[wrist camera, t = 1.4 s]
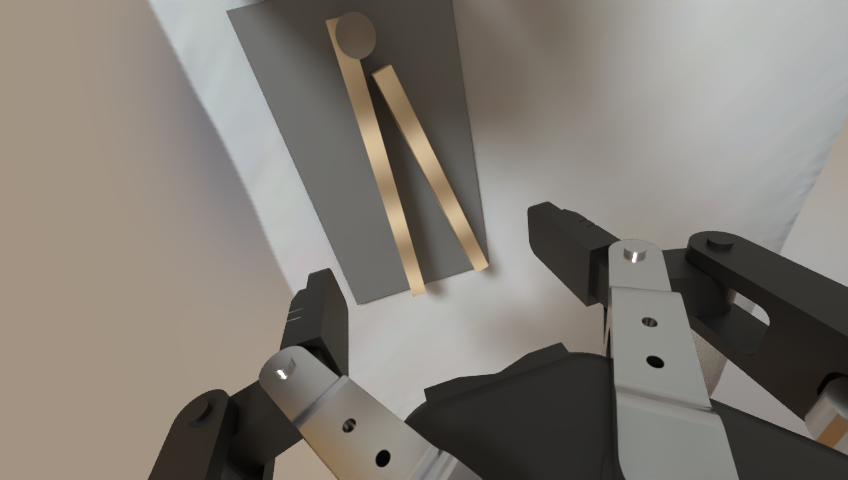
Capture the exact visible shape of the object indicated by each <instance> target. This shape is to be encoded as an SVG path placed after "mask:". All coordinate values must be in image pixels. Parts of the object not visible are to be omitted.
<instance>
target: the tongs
mask: <svg viewBox="0 0 848 480" xmlns="http://www.w3.org/2000/svg"><path fill="white" fill-rule="evenodd" d="M326 24H327V27H328V31H329V34H330V37H331V40H332V43H333V46H334V49H335V53H336V56H337V59H338V62H339V65H340V68H341V71H342V75H343V78H344V81H345V84H346V87H347V90H348V93H349V97H350V100H351V103H352V106H353V109H354V112H355V115H356V119H357V122H358V125H359V128H360V131H361V134H362V137H363V141H364V144H365V147H366V150H367V153H368V156H369V160H370V163H371V166H372V169H373V172H374V175H375V178H376V182H377V185H378V188H379V191H380V194H381V197H382V200H383V204H384V207H385V210H386V213H387V216H388V219H389V222H390V226H391V229H392V232H393V235H394V238H395V241H396V244H397V248H398V251H399V254H400V257H401V260H402V263H403V266H404V270H405V273H406V276H407V279H408V282H409V285H410V288H411V292H412V295H413V297H414V296H417V295H421V294H424V293H426V290H425V286H424V283H423V279H422V276H421V272H420V269H419V266H418V262H417V259H416V255H415V252H414V248H413V245H412V241H411V238H410V234H409V231H408V227H407V224H406V220H405V217H404V213H403V210H402V206H401V203H400V199H399V196H398V192H397V189H396V185H395V182H394V178H393V175H392V171H391V168H390V164H389V161H388V157H387V154H386V150H385V147H384V143H383V140H382V137H381V133H380V130H379V126H378V123H377V119H376V116H375V112H374V109H373V105H372V102H371V98H370V95H369V91H368V88H367V84H366V81H365V77H364V74H363V70H362V67H361V63H360V60H361V59H363V58H365V57H367V56H368V55H369V54H370V53H371V52H372V51H373V49H374V47H375V43H376V33H375V29H374V26H373V24H372V23H371V21H370V20H369V19H368V18H367V17H366V16H365V15H363V14H361V13H359V12H348V13H346V14H344V15H343V16H342V17H338V18H334V19H330V20H326Z"/></svg>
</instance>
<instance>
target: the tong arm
mask: <svg viewBox="0 0 848 480" xmlns="http://www.w3.org/2000/svg"><path fill="white" fill-rule="evenodd" d="M370 75H371V77H372V79H373V81H374V82H375V84H376V86H377V88H378V90H379V92H380V94H381V96H382V98H383V100H384V101H385V103H386V105H387V107H388V109H389V111H390V113H391V115H392V117H393V119H394V120H395V122H396V124H397V126H398V128H399V130H400V132H401V134H402V136H403V137H404V139H405V141H406V143H407V145H408V147H409V149H410V151H411V153H412V155H413V156H414V158H415V160H416V162H417V164H418V166H419V168H420V170H421V172H422V174H423V175H424V177H425V179H426V181H427V183H428V185H429V187H430V189H431V191H432V193H433V194H434V196H435V198H436V200H437V202H438V204H439V206H440V208H441V210H442V212H443V213H444V215H445V217H446V219H447V221H448V223H449V225H450V227H451V229H452V231H453V232H454V234H455V236H456V238H457V240H458V242H459V244H460V246H461V248H462V250H463V251H464V253H465V255H466V256H467V258H468V260H469V261H470V263H471V264H472V266H473V268H474V269H475V271H476V272H479V271H480V270H482V269H484V268H486V267H488V266H489V265H488V263H487V261H486V259H485V257H484V255H483V253H482V251H481V249H480V247H479V245H478V243H477V241H476V239H475V237H474V234H473V232H472V230H471V228H470V226H469V224H468V222H467V220H466V218H465V216H464V214H463V212H462V210H461V208H460V206H459V204H458V201H457V199H456V197H455V195H454V193H453V191H452V189H451V187H450V185H449V183H448V181H447V179H446V177H445V175H444V173H443V171H442V169H441V166H440V164H439V162H438V160H437V158H436V156H435V154H434V152H433V150H432V148H431V146H430V144H429V142H428V140H427V138H426V136H425V134H424V131H423V129H422V127H421V125H420V123H419V121H418V119H417V117H416V115H415V113H414V111H413V109H412V107H411V105H410V103H409V101H408V99H407V96H406V94H405V92H404V90H403V88H402V86H401V84H400V82H399V80H398V78H397V76H396V74H395V72H394V70H393V68H392V66H391V65H384V66H382V67H381V68H379V69H377V70H376V71H374V72H372V73H371V74H370Z"/></svg>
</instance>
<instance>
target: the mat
mask: <svg viewBox="0 0 848 480" xmlns="http://www.w3.org/2000/svg"><path fill="white" fill-rule="evenodd" d="M226 12H227V14H228V16H229V19H230V21H231V23H232V25H233V27H234V30H235V32H236V34H237V36H238V39H239V41H240V43H241V45H242V48H243V50H244V52H245V54H246V57H247V59H248V61H249V63H250V65H251V68H252V70H253V72H254V74H255V77H256V79H257V81H258V83H259V86H260V88H261V90H262V92H263V95H264V97H265V99H266V101H267V104H268V106H269V108H270V110H271V112H272V115H273V117H274V119H275V121H276V124H277V126H278V128H279V130H280V133H281V135H282V137H283V139H284V142H285V144H286V146H287V148H288V150H289V153H290V155H291V157H292V159H293V162H294V164H295V166H296V168H297V171H298V173H299V175H300V177H301V180H302V182H303V184H304V186H305V188H306V191H307V193H308V195H309V197H310V200H311V202H312V204H313V206H314V209H315V211H316V213H317V215H318V218H319V220H320V222H321V224H322V226H323V229H324V231H325V233H326V235H327V238H328V240H329V242H330V244H331V247H332V249H333V251H334V253H335V256H336V258H337V260H338V262H339V265H340V267H341V269H342V271H343V273H344V276H345V278H346V280H347V282H348V285H349V287H350V289H351V291H352V294H353V296H354V298H355V300H356V303H357V305H359V304H362V303H366V302H369V301H372V300H375V299H378V298H381V297H384V296H388V295H391V294H394V293H397V292H400V291H403V290H407V289H410V285H409V282H408V279H407V276H406V273H405V270H404V266H403V263H402V260H401V257H400V254H399V251H398V248H397V244H396V241H395V238H394V235H393V232H392V229H391V226H390V222H389V219H388V216H387V213H386V210H385V207H384V204H383V200H382V197H381V194H380V191H379V188H378V185H377V182H376V178H375V175H374V172H373V169H372V166H371V163H370V160H369V156H368V153H367V150H366V147H365V144H364V141H363V137H362V134H361V131H360V128H359V125H358V122H357V119H356V115H355V112H354V109H353V106H352V103H351V100H350V97H349V93H348V90H347V87H346V84H345V81H344V78H343V75H342V71H341V68H340V65H339V62H338V59H337V56H336V53H335V49H334V46H333V43H332V40H331V37H330V34H329V31H328V27H327V24H326V20H330V19H334V18H338V17H342V16H343V15H344V14H346V13H348V12H359V13H361V14H363V15H365V16H366V17H367V18H368V19H369V20H370V21H371V23H372V24H373V26H374V29H375V33H376V43H375V47H374V49H373V51H372V52H371V53H370V54H369V55H368V56H367V57H365V58H363V59H361V60H360V63H361V67H362V70H363V74H364V77H365V81H366V84H367V88H368V91H369V95H370V98H371V102H372V105H373V109H374V112H375V116H376V119H377V123H378V126H379V130H380V133H381V137H382V140H383V143H384V147H385V150H386V154H387V157H388V161H389V164H390V168H391V171H392V175H393V178H394V182H395V185H396V189H397V192H398V196H399V199H400V203H401V206H402V210H403V213H404V217H405V220H406V224H407V227H408V231H409V234H410V238H411V241H412V245H413V248H414V252H415V255H416V259H417V262H418V266H419V269H420V272H421V276H422V279H423V283H424V284H425V283H429V282H432V281H435V280H438V279H441V278H444V277H448V276H451V275H454V274H457V273H460V272H463V271H466V270H470V269H473V266H472V264H471V263H470V261H469V260H468V258H467V256H466V255H465V253H464V251H463V250H462V248H461V246H460V244H459V242H458V240H457V238H456V236H455V234H454V232H453V231H452V229H451V227H450V225H449V223H448V221H447V219H446V217H445V215H444V213H443V212H442V210H441V208H440V206H439V204H438V202H437V200H436V198H435V196H434V194H433V193H432V191H431V189H430V187H429V185H428V183H427V181H426V179H425V177H424V175H423V174H422V172H421V170H420V168H419V166H418V164H417V162H416V160H415V158H414V156H413V155H412V153H411V151H410V149H409V147H408V145H407V143H406V141H405V139H404V137H403V136H402V134H401V132H400V130H399V128H398V126H397V124H396V122H395V120H394V119H393V117H392V115H391V113H390V111H389V109H388V107H387V105H386V103H385V101H384V100H383V98H382V96H381V94H380V92H379V90H378V88H377V86H376V84H375V82H374V81H373V79H372V77H371V75H370V74H371V73H372V72H374V71H376V70H377V69H379V68H381V67H382V66H384V65H391V66H392V68H393V70H394V72H395V74H396V76H397V78H398V80H399V82H400V84H401V86H402V88H403V90H404V92H405V94H406V96H407V99H408V101H409V103H410V105H411V107H412V109H413V111H414V113H415V115H416V117H417V119H418V121H419V123H420V125H421V127H422V129H423V131H424V134H425V136H426V138H427V140H428V142H429V144H430V146H431V148H432V150H433V152H434V154H435V156H436V158H437V160H438V162H439V164H440V166H441V169H442V171H443V173H444V175H445V177H446V179H447V181H448V183H449V185H450V187H451V189H452V191H453V193H454V195H455V197H456V199H457V201H458V204H459V206H460V208H461V210H462V212H463V214H464V216H465V218H466V220H467V222H468V224H469V226H470V228H471V230H472V232H473V234H474V237H475V239H476V241H477V243H478V245H479V247H480V249H481V251H482V253H483V255H484V257H485V259H486V261H487V263H488V264H489V260H488V253H487V246H486V239H485V232H484V225H483V218H482V211H481V204H480V197H479V190H478V183H477V176H476V169H475V162H474V155H473V148H472V141H471V134H470V127H469V120H468V113H467V106H466V99H465V92H464V85H463V78H462V71H461V64H460V57H459V50H458V43H457V36H456V29H455V22H454V15H453V8H452V1H451V0H269V1H265V2H261V3H257V4H253V5H248V6H244V7H240V8H236V9H232V10H228V11H226Z"/></svg>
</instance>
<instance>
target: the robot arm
mask: <svg viewBox="0 0 848 480" xmlns="http://www.w3.org/2000/svg"><path fill="white" fill-rule="evenodd" d="M528 230H529V243H530V246H531V249H532V251H533V253H534V254H535V255H536V256H537V257H538V258H539V259H540V260H541V261H542V262H543V263H544V264H545V265H546V266H547V267H548V268H549V269H550V270H551V271H552V272H553V273H554V274H555V275H556V276H557V277H558V278H559V279H560V280H561V281H562V282H563V283H564V284H565V285H566V286H567V287H568V288H569V289H570V290H571V291H572V292H573V293H574V294H575V295H576V296H577V297H578V298H579V299H580V300H581V301H582V302H583V303H584V304H585V305H586V306H587V307H588V306H591V305H594V304H597V303H601V304H602V305H603V355H597V354H592V353H583V352H570V353H569V352H568V350H567V349H566V348H565V347H564V345H563V344H562V343H561V342H560V343H558V344H555V345H552V346H549V347H546V348H543V349H540V350H537V351H534V352H531V353H528V354H527V355H525V356H524V357H522V358H521V359H519V360H518V361H516V362H515V363H513V364H512V365H510V366H508V367H507V368H505V369H504V370H502V371H501V372H499V373H496V374H488V375H478V376H467V377H458V378H455V379H452V380H449V381H446V382H443V383H440V384H437V385H435V386H432V387H429V388H426V389H424V392H425V396H426V400H427V401H426V402H424V403H423V404H421V405H420V406H419V407H417V408H416V409H415V410H414V411H413V412H412V413H411V414H410V415H409V416H408V417H407V418H406V420H405V421H404V422H403V421H402V420H401V419H399V418H398V417H397V416H396V415H395V414H393V413H392V412H391V411H390V410H388V409H387V408H386V407H385V406H383V405H382V404H381V403H380V402H378V401H377V400H376V399H375V398H373V397H372V396H371V395H370V394H368V393H367V392H366V391H365V390H364V389H362V388H361V387H360V386H359V385H357V384H356V383H355V382H354V381H352V380H351V379H350V378H349V377H348V308H347V304H346V301H345V298H344V296H343V294H342V292H341V290H340V287H339V285H338V283H337V281H336V279H335V277H334V275H333V272H332V271H331V269H330V268H327V269H324V270H320V271H317V272H314V273H311V274H309V276H308V282H307V287H306V289H303V290H300V291H298V293H297V294H296V296H295V297H294V298H293V300H292V301H291V305H290V309H289V314H288V317H287V322H286V326H285V330H284V334H283V338H282V342H281V346H280V350H279V352H277V353H276V354H274V355H273V356H272V357H271V358H270V359H269V360H268V361H267V362H266V363H265V364H264V366H263V367H262V369H261V371H260V374H259V380H258V381H256V382H254V383H253V384H251V385H249V386H248V387H246V388H244V389H243V390H241V391H239V392H237V393H236V394H234V395H232V396H231V397H230V396H229V395H228V394H227V393H226V392H225V391H224V390H220V389H216V390H211V391H208V392H206V393H203V394H201V395H200V396H198V397H197V398H195V399H194V400H192V401H191V402H190V403H189V404H188V405H187V406H185V408H183V410H182V411H181V412H180V413H179V414H178V416H177V417H176V419H175V420H174V422H173V424H172V426H171V428H170V431H169V433H168V435H167V437H166V440H165V442H164V444H163V446H162V449H161V451H160V453H159V456H158V458H157V460H156V462H155V465H154V467H153V469H152V472H151V474H150V476H149V478H148V480H273V472H274V464H275V457H277V456H278V455H279V454H281V453H282V452H284V451H285V450H287V449H288V448H290V447H291V446H293V445H294V444H296V443H297V442H299V441H300V440H301V439H304V440H305V441H306V442H307V444H308V445H309V446H310V447H311V448H312V450H313V451H314V452H315V453H316V454H317V456H318V457H319V458H320V459H321V460H322V462H323V463H324V464H325V465H326V466H327V468H328V469H329V470H330V471H331V472H332V474H333V475H334V476H335V477H336V478H337V480H848V287H846V286H844V285H842V284H840V283H838V282H835V281H833V280H831V279H829V278H827V277H825V276H823V275H821V274H819V273H816V272H814V271H812V270H810V269H808V268H806V267H803V266H802V265H799V264H797V263H795V262H793V261H791V260H789V259H787V258H785V257H782V256H780V255H778V254H776V253H774V252H772V251H770V250H768V249H765V248H763V247H761V246H759V245H757V244H755V243H753V242H751V241H748V240H746V239H744V238H742V237H740V236H737V235H734V234H730V233H726V232H718V231H705V232H699V233H696V234H694V235H692V236H691V237H690V238H689V241H688V245H687V248H683V249H673V250H660V248H658V247H657V246H656V245H654V244H652V243H649V242H646V241H642V240H634V239H628V240H620V239H618V238H616V237H615V236H613V235H612V234H610V233H608V232H607V231H605V230H604V229H602V228H601V227H599V226H597V225H595V224H594V223H593V222H591V221H589V220H587V219H586V218H585V217H583V216H582V215H580V214H578V213H576V212H573V211H569V210H566V209H563V210H561V209H559V208H558V207H556V206H555V205H553V204H552V203H550V202H544V203H541V204H537V205H534V206H531V207H529V208H528ZM737 292H738V293H740V294H741V295H743V296H745V297H746V298H748V299H749V300H751V301H753V302H754V303H756V304H758V305H759V306H760V307H761V308H763V309H764V310H765V311H766V313H767V315H768V317H769V320H770V324H769V326H767V325H766V324H765V323H763V322H761V321H760V320H759V319H757V318H756V317H754V316H752V315H751V314H750V313H748V312H747V311H745V310H744V309H742V308H741V307H739V306H738V305H736V304H734V303H733V301H734V299H735V296H736V293H737ZM690 328H692V329H693V330H694V331H695V332H696V333H698V334H699V335H700V336H701V337H702V338H704V339H705V340H706V341H707V342H709V343H710V344H711V345H712V346H713V347H715V348H716V349H717V350H718V351H719V352H721V353H722V354H723V355H724V356H725V357H727V358H728V359H729V360H730V361H732V362H733V363H734V364H735V365H736V366H738V367H739V368H740V369H741V370H743V371H744V372H745V373H746V374H747V375H748V376H750V377H751V378H752V379H753V380H754V381H756V382H757V383H758V384H759V385H761V386H762V387H763V388H764V389H765V390H767V391H768V392H769V393H770V394H771V395H773V396H774V397H775V398H776V399H777V400H779V401H780V402H781V403H782V404H783V405H785V406H786V407H787V408H788V409H790V410H791V411H792V412H793V413H794V414H796V415H797V416H798V417H799V418H801V419H802V420H803V421H804V422H805V424H806V427H807V429H808V431H809V433H810V434H811V436H812V437H813V438H814V440H815V441H814V440H812V439H809V438H807V437H805V436H802V435H800V434H797V433H794V432H792V431H790V430H787V429H785V428H782V427H780V426H777V425H775V424H772V423H770V422H768V421H765V420H763V419H760V418H758V417H755V416H753V415H750V414H748V413H745V412H743V411H740V410H738V409H735V408H733V407H730V406H728V405H726V404H723V403H721V402H718V401H716V400H713V399H711V398H709V397H708V393H707V389H706V386H705V382H704V378H703V374H702V371H701V367H700V363H699V359H698V355H697V352H696V348H695V344H694V340H693V337H692V333H691V329H690Z"/></svg>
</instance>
